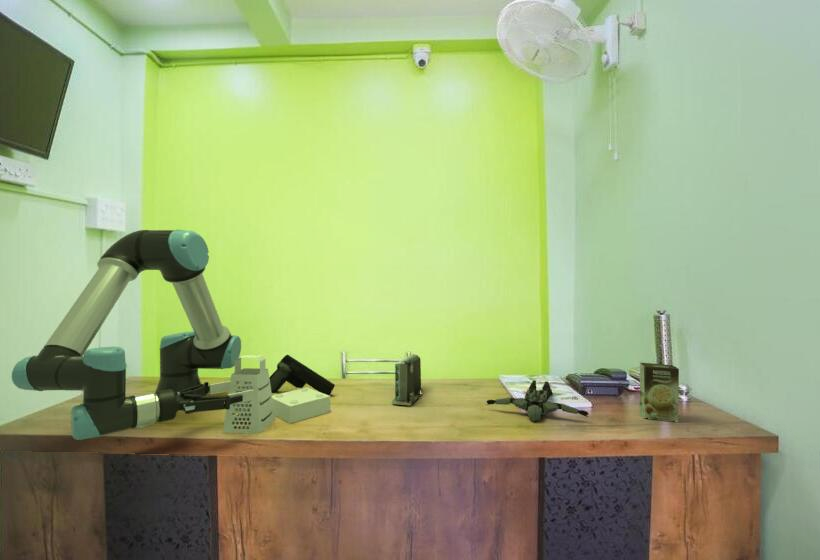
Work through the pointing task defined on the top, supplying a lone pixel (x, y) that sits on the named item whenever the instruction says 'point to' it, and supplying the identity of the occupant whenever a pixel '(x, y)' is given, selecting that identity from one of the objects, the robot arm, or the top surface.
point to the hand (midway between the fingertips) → (243, 389)
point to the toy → (537, 402)
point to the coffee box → (659, 391)
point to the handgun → (298, 376)
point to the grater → (253, 408)
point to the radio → (407, 380)
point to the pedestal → (300, 404)
